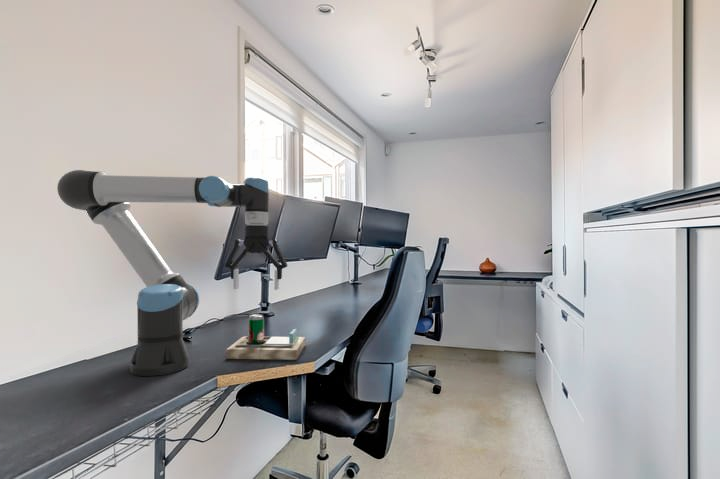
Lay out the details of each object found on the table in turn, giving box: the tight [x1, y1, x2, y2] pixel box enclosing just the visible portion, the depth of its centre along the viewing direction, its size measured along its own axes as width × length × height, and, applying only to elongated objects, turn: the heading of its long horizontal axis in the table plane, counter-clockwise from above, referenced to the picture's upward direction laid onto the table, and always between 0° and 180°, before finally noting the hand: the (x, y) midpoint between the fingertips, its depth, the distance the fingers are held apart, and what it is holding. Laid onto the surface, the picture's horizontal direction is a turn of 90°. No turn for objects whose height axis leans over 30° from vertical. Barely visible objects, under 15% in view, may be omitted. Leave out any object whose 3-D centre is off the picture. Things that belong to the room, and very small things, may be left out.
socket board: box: [226, 335, 306, 361], centre depth 130 cm, size 22×16×4 cm
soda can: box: [247, 313, 265, 345], centre depth 130 cm, size 5×5×12 cm
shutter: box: [265, 328, 299, 347], centre depth 130 cm, size 9×9×4 cm
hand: (256, 289), depth 130 cm, fingers open, 13 cm apart
